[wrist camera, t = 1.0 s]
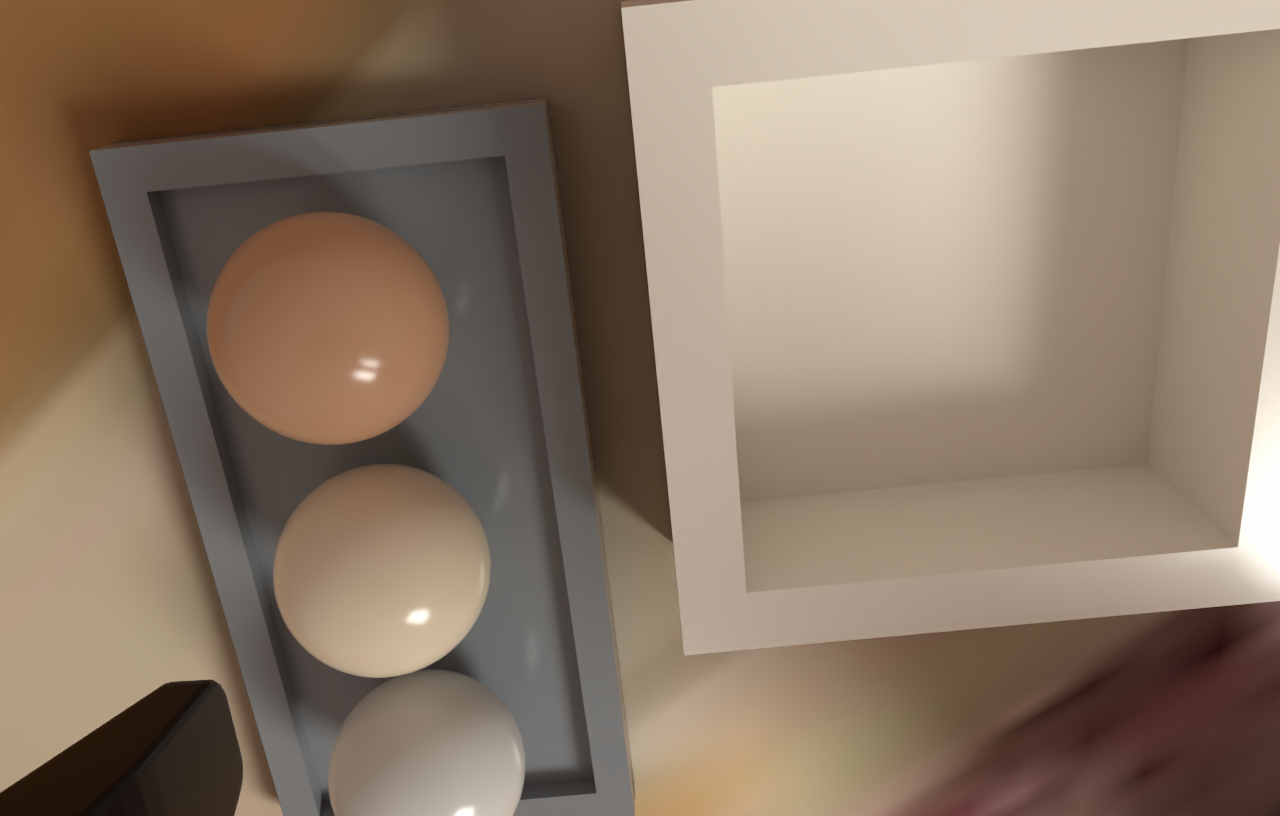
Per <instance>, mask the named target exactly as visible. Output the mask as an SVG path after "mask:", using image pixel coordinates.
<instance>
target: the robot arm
mask: <svg viewBox="0 0 1280 816" xmlns="http://www.w3.org/2000/svg"><path fill="white" fill-rule="evenodd" d="M242 779H243V763H242V757H241V752H240V748H239V744H238V740H237V736H236V733H235V729H234V725H233V721H232V717H231V713H230V709H229V705H228V701H227V697H226V694H225V692H224V690H223V688H222V686H221V685H220V684H219V683H217V682H215V681H214V680H196V681H178V682H170V683H166V684H164V685H162V686H161V687H159V688H158V689H156V690H155V691H153V692H152V693H150V694H149V695H147V696H146V697H144V698H143V699H141V700H140V701H138V702H137V703H135V704H134V705H132V706H130V707H129V708H127V709H126V710H124V711H123V712H121V713H120V714H118V715H117V716H115V717H114V718H112V719H111V720H109V721H108V722H106V723H105V724H103V725H102V726H100V727H99V728H97V729H96V730H94V731H93V732H91V733H90V734H88V735H87V736H85V737H84V738H82V739H81V740H79V741H78V742H76V743H75V744H73V745H72V746H70V747H69V748H67V749H66V750H64V751H63V752H61V753H60V754H58V755H57V756H55V757H54V758H52V759H51V760H49V761H48V762H46V763H45V764H43V765H42V766H40V767H39V768H37V769H36V770H34V771H32V772H31V773H29V774H28V775H26V776H25V777H23V778H22V779H20V780H19V781H17V782H16V783H14V784H13V785H11V786H10V787H8V788H7V789H5V790H4V791H2V792H1V793H0V816H234V815H235V811H236V807H237V803H238V799H239V795H240V791H241V787H242Z"/></svg>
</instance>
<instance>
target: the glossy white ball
mask: <svg viewBox="0 0 1280 816" xmlns="http://www.w3.org/2000/svg"><path fill="white" fill-rule="evenodd" d="M524 780H525V751H524V745H523V741H522V737H521V733H520V731H519V728H518V726H517V724H516V721H515V719H514V717H513V715H512V714H511V712H510V711H509V709H508V708H507V706H506V705H505V704H504V703H503V701H502V700H501V699H500V698H499V697H498V696H497V695H496V694H495V693H494V692H493V691H492V690H490V689H489V688H488V687H486V686H485V685H484V684H482V683H481V682H479V681H477V680H475V679H473V678H471V677H469V676H466V675H464V674H461V673H457V672H454V671H448V670H439V669H426V670H419V671H415V672H412V673H408V674H404V675H400V676H396V677H394V678H391V679H390V680H388V681H386V682H384V683H382V684H381V685H379V686H377V687H376V688H374V689H373V690H372V691H370V692H369V693H368V694H367V695H366V696H364V697H363V698H362V699H361V700H360V701H359V702H358V703H357V704H356V705H355V707H354V708H353V709H352V711H351V712H350V713H349V715H348V716H347V717H346V719H345V720H344V722H343V724H342V726H341V728H340V730H339V732H338V734H337V736H336V738H335V741H334V744H333V747H332V751H331V754H330V759H329V766H328V790H329V797H330V802H331V806H332V809H333V812H334V814H335V816H513V815H514V812H515V810H516V808H517V805H518V803H519V800H520V798H521V793H522V789H523V785H524Z"/></svg>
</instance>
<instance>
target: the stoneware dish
mask: <svg viewBox="0 0 1280 816" xmlns="http://www.w3.org/2000/svg"><path fill="white" fill-rule="evenodd" d="M621 12H622V22H623V33H624V43H625V53H626V63H627V74H628V84H629V94H630V104H631V115H632V125H633V135H634V146H635V156H636V166H637V176H638V187H639V197H640V207H641V217H642V228H643V238H644V248H645V259H646V269H647V279H648V289H649V300H650V310H651V320H652V330H653V341H654V351H655V361H656V371H657V382H658V392H659V402H660V413H661V423H662V433H663V443H664V454H665V464H666V474H667V484H668V495H669V505H670V515H671V525H672V536H673V546H674V556H675V567H676V577H677V587H678V597H679V608H680V618H681V628H682V638H683V649H684V655H695V654H706V653H717V652H728V651H739V650H750V649H761V648H772V647H783V646H794V645H804V644H815V643H826V642H837V641H848V640H859V639H870V638H881V637H892V636H903V635H913V634H924V633H935V632H946V631H957V630H968V629H979V628H990V627H1001V626H1012V625H1022V624H1033V623H1044V622H1055V621H1066V620H1077V619H1088V618H1099V617H1110V616H1121V615H1131V614H1142V613H1153V612H1164V611H1175V610H1186V609H1197V608H1208V607H1219V606H1230V605H1240V604H1251V603H1262V602H1273V601H1280V0H629V1H621Z"/></svg>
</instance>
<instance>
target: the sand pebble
mask: <svg viewBox="0 0 1280 816" xmlns="http://www.w3.org/2000/svg"><path fill="white" fill-rule="evenodd" d="M490 572H491V560H490V551H489V545H488V541H487V537H486V534H485V531H484V529H483V526H482V524H481V522H480V520H479V518H478V516H477V515H476V513H475V511H474V509H473V508H472V507H471V505H470V504H469V503H468V501H467V500H466V499H465V498H464V497H463V496H462V495H461V494H460V493H459V492H458V491H457V490H456V489H454V488H453V487H452V486H451V485H449V484H448V483H447V482H445V481H444V480H442V479H440V478H439V477H437V476H435V475H433V474H431V473H429V472H427V471H424V470H421V469H418V468H415V467H411V466H406V465H399V464H372V465H365V466H360V467H357V468H353V469H350V470H347V471H345V472H342V473H340V474H338V475H335V476H333V477H332V478H330V479H328V480H327V481H325V482H323V483H322V484H321V485H319V486H318V487H317V488H315V489H314V490H313V491H312V492H310V493H309V494H308V495H307V496H306V497H305V498H304V499H303V500H302V501H301V503H300V504H299V505H298V506H297V507H296V509H295V510H294V511H293V513H292V514H291V516H290V517H289V519H288V520H287V522H286V525H285V527H284V529H283V531H282V533H281V535H280V538H279V540H278V544H277V548H276V551H275V557H274V565H273V584H274V592H275V598H276V602H277V605H278V607H279V610H280V613H281V616H282V618H283V620H284V622H285V624H286V626H287V628H288V629H289V631H290V632H291V633H292V635H293V636H294V638H295V639H296V640H297V641H298V642H299V643H300V644H301V646H302V647H303V648H304V649H305V650H306V651H308V652H309V653H310V654H311V655H312V656H313V657H315V658H316V659H318V660H319V661H321V662H322V663H324V664H326V665H328V666H330V667H332V668H334V669H336V670H339V671H341V672H344V673H348V674H351V675H356V676H361V677H371V678H386V677H394V676H400V675H404V674H408V673H412V672H415V671H418V670H420V669H423V668H425V667H427V666H429V665H430V664H432V663H434V662H436V661H438V660H439V659H441V658H442V657H444V656H445V655H446V654H448V653H449V652H450V651H451V650H452V649H454V648H455V647H456V646H457V645H458V644H459V643H460V642H461V641H462V640H463V639H464V638H465V636H466V635H467V634H468V632H469V631H470V630H471V628H472V627H473V625H474V624H475V622H476V620H477V618H478V616H479V615H480V613H481V610H482V608H483V605H484V602H485V600H486V597H487V593H488V589H489V584H490Z"/></svg>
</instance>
